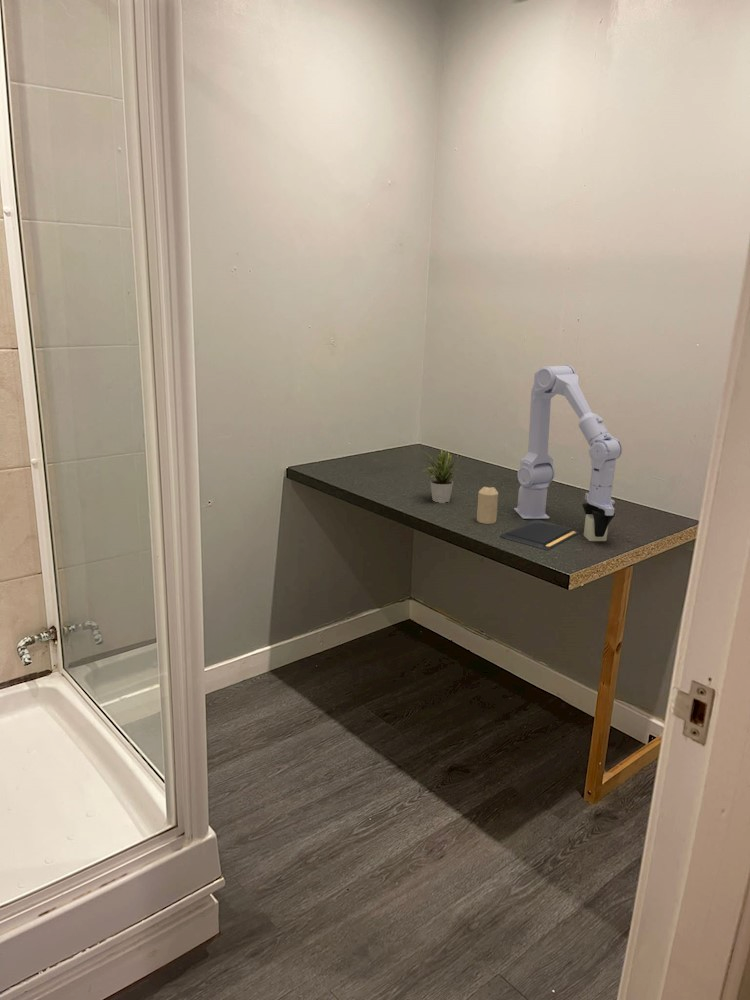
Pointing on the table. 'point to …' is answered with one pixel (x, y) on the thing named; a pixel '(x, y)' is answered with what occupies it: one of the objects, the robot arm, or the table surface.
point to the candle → (487, 505)
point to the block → (592, 529)
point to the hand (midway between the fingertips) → (595, 533)
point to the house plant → (441, 478)
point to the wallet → (540, 534)
